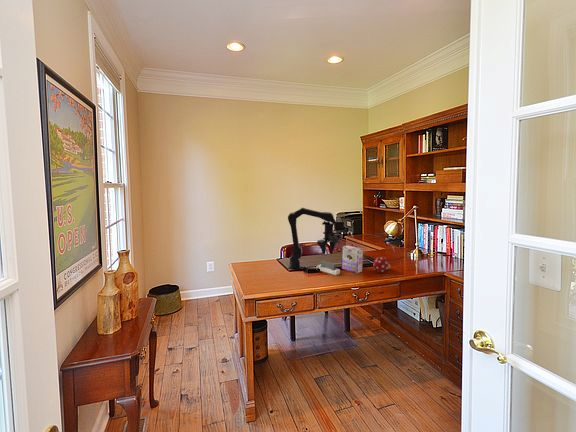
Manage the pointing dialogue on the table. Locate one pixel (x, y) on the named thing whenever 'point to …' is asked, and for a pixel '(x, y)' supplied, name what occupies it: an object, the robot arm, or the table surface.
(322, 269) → the rail
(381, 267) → the decorative mushroom
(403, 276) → the table surface
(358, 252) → the candy box
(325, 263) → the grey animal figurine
